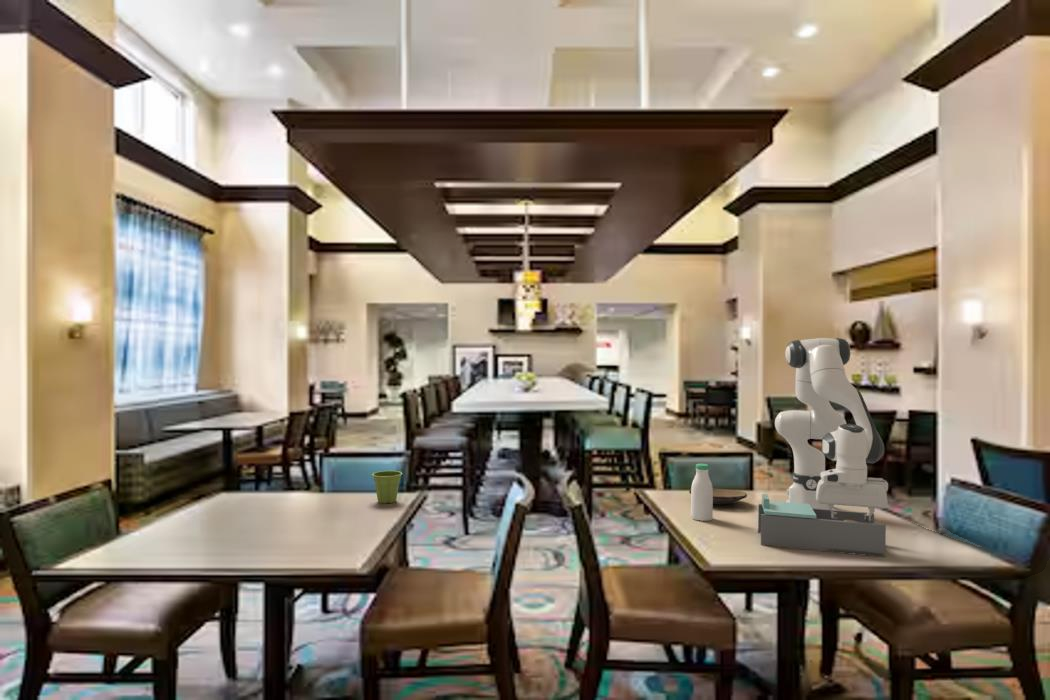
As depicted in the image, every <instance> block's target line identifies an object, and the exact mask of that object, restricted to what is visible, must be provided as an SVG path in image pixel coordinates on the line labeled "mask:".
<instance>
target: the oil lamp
mask: <svg viewBox="0 0 1050 700" xmlns="http://www.w3.org/2000/svg"><path fill="white" fill-rule="evenodd" d="M695 476H696V475H694V476H693V479H692V480H694V478H695ZM712 488H713V487H712ZM688 494H690V495H691V489H689V491H688ZM747 496H748V493H746V492H744V491H741V490H736V489H735V490H734V489H726V488H716V487H715V488H713V505H730V504H733V503H736V502H739V501H741V500H744V499H746V498H747Z"/></svg>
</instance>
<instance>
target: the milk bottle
mask: <svg viewBox="0 0 1050 700" xmlns="http://www.w3.org/2000/svg"><path fill="white" fill-rule="evenodd" d="M709 468H710V466H709V464H707V463H697V464H696V463H695V471H696V473H695V475H694V476H695V478H694V479H692V483H691V488H690V490H691V494H690V518H691V519H692V518H693V519H692V520H695V521H699V520H700V521H701V522H702V521H703V522H708V521H712V520H713V518H714V517H713V516H714V515H713V514H714V513H713V512H714V511H713V510H714V508H713V507H714V504H713V484H712V483H713V482H712V481H711V478H710V475H709V471H710V470H709Z"/></svg>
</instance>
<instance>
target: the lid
mask: <svg viewBox="0 0 1050 700" xmlns="http://www.w3.org/2000/svg"><path fill="white" fill-rule="evenodd" d="M761 504H762V506H763V510H764V514H767V515H779V516H791V517H803V518H815V519H816V514H815V512H814V511H813V509H812V507H811V506H810V504H803V503H791V502H786V501H779V500H778V501H776V500H775V501H773V500H770V498H769V494H767V493H762V500H761Z"/></svg>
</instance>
